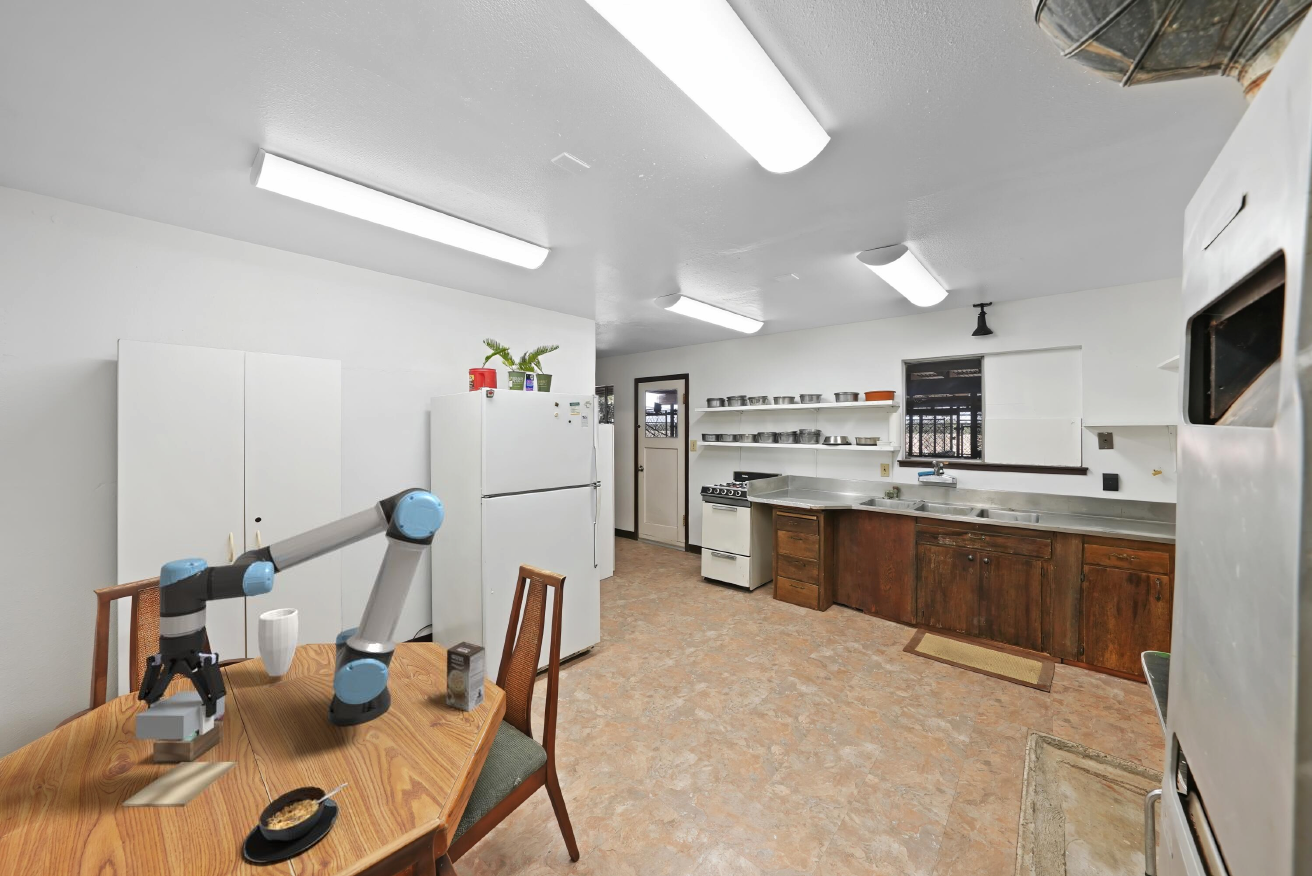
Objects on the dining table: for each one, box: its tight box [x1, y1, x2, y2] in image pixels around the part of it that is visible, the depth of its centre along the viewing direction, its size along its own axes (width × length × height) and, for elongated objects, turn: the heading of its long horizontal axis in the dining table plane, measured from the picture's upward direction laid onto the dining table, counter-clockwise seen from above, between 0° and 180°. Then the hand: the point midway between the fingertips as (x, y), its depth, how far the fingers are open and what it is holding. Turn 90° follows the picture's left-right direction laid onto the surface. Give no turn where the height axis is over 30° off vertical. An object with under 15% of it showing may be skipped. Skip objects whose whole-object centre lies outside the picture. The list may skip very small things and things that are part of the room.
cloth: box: [121, 761, 238, 807], centre depth 109 cm, size 13×13×1 cm
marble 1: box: [180, 732, 197, 741], centre depth 122 cm, size 3×3×3 cm
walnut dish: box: [152, 721, 223, 765], centre depth 120 cm, size 9×9×5 cm
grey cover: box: [135, 690, 226, 740], centre depth 109 cm, size 10×10×5 cm
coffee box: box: [446, 641, 486, 712], centre depth 142 cm, size 9×6×16 cm
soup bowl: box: [242, 782, 349, 863], centre depth 96 cm, size 15×16×7 cm
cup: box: [257, 607, 299, 677], centre depth 154 cm, size 10×10×22 cm
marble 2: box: [182, 737, 193, 741], centre depth 119 cm, size 3×3×3 cm
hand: (182, 730), depth 109 cm, fingers closed on grey cover, 10 cm apart
